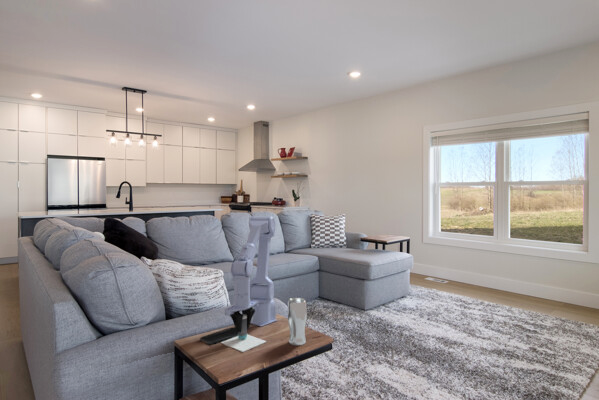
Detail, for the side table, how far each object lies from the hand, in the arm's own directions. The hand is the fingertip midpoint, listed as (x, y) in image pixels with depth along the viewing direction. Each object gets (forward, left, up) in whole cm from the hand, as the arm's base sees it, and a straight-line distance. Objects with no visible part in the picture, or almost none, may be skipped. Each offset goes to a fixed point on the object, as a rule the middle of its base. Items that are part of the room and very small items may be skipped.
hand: (242, 330), depth 131 cm
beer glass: (-11, +17, -3) cm, 21 cm away
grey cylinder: (0, 0, -2) cm, 2 cm away
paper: (+2, +3, -3) cm, 5 cm away
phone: (+3, -8, -4) cm, 9 cm away
